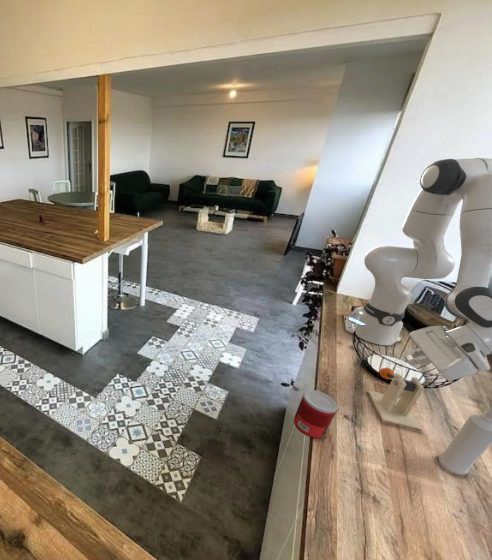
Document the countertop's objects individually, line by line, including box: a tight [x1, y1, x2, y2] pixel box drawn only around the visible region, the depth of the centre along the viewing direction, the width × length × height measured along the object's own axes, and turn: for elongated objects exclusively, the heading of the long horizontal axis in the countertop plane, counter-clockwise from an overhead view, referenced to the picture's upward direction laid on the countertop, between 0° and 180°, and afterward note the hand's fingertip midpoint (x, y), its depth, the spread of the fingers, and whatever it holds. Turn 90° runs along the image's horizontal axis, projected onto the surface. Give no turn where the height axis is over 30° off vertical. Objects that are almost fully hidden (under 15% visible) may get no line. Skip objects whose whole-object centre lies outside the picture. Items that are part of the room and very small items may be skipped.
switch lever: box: [379, 367, 415, 392], centre depth 96 cm, size 14×4×4 cm, turn 159°
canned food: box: [293, 389, 338, 439], centre depth 88 cm, size 8×8×11 cm
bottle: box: [438, 405, 492, 476], centre depth 74 cm, size 5×5×25 cm
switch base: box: [367, 373, 425, 431], centre depth 92 cm, size 12×9×13 cm
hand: (406, 360), depth 97 cm, fingers closed
